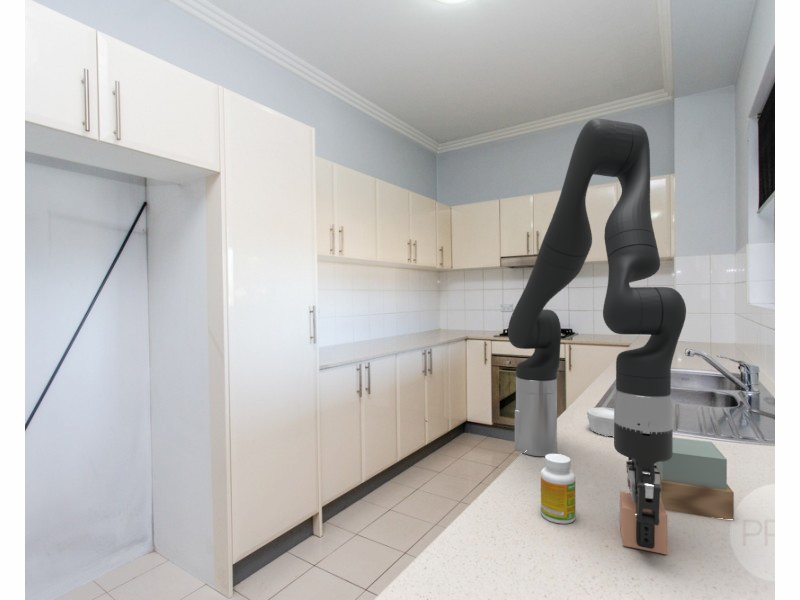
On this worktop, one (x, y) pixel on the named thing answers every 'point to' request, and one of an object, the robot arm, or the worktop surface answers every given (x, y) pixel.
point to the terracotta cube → (630, 525)
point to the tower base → (697, 499)
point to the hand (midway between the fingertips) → (642, 534)
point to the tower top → (695, 464)
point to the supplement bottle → (558, 489)
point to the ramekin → (601, 420)
